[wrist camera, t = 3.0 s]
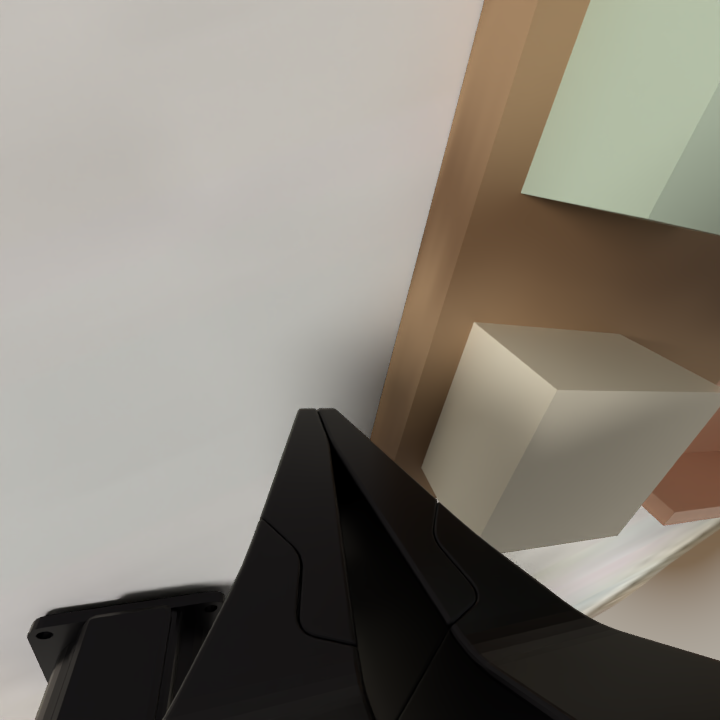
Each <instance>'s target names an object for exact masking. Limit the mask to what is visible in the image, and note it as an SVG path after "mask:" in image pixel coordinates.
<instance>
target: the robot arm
mask: <svg viewBox="0 0 720 720" xmlns="http://www.w3.org/2000/svg"><path fill="white" fill-rule="evenodd" d="M224 599H225V596H224V594H223V593H222V592H218V591H211V592H204V593H198V594H191V595H184V596H177V597H170V598H164V599H157V600H150V601H143V602H136V603H130V604H123V605H116V606H109V607H103V608H96V609H89V610H82V611H75V612H69V613H62V614H55V615H48V616H44V617H40V618H38V619H36V620H35V621H34V622H33V624H32V626H31V628H30V631H29V633H28V635H27V638H28V641H29V643H30V645H31V647H32V649H33V652H34V654H35V656H36V658H37V660H38V663H39V665H40V667H41V669H42V671H43V674H44V676H45V678H46V680H47V682H48V685H47V688H46V690H45V693H44V696H43V699H42V701H41V704H40V707H39V710H38V712H37V715H36V718H35V720H720V661H719V660H715V659H712V658H709V657H705V656H702V655H699V654H695V653H692V652H689V651H685V650H682V649H679V648H675V647H672V646H669V645H665V644H662V643H658V642H655V641H652V640H648V639H645V638H641V637H638V636H635V635H632V634H628V633H625V632H622V631H619V630H616V629H613V628H610V627H608V626H606V625H603V624H601V623H599V622H597V621H595V620H593V619H591V618H589V617H588V616H586V615H584V614H583V613H581V612H579V611H578V610H576V609H575V608H573V607H572V606H570V605H569V604H568V603H566V602H565V601H563V600H562V599H561V598H559V597H558V596H557V595H555V594H554V593H553V592H551V591H550V590H549V589H548V588H546V587H545V586H544V585H542V584H541V583H540V582H538V581H537V580H536V579H534V578H533V577H532V576H530V575H529V574H528V573H526V572H525V571H524V570H522V569H521V568H520V567H518V566H517V565H516V564H514V563H513V562H512V561H511V560H509V559H508V558H507V557H505V556H504V555H503V554H501V553H500V552H499V551H497V550H496V549H495V548H494V547H492V546H491V545H490V544H489V543H487V542H486V541H485V540H483V539H482V538H481V537H480V536H478V535H477V534H476V533H475V532H473V531H472V530H471V529H470V528H469V527H468V526H466V525H465V524H464V523H463V522H462V521H461V520H459V519H458V518H457V517H456V516H455V515H454V514H452V513H451V512H450V511H449V510H448V509H447V508H446V507H445V506H444V505H442V504H441V503H440V502H438V503H437V499H436V498H434V497H433V496H432V495H431V494H430V493H429V492H428V491H427V490H425V489H424V488H423V487H422V486H421V485H420V484H419V483H418V482H417V481H415V480H414V479H413V478H412V477H411V476H410V475H409V474H408V473H406V472H405V471H404V470H403V469H402V468H401V467H400V466H399V465H398V464H396V463H395V462H394V461H393V460H392V459H391V458H390V457H389V456H388V455H386V454H385V453H384V452H383V451H382V450H381V449H380V448H379V447H377V446H376V445H375V444H374V443H373V442H372V441H371V440H370V439H369V438H367V437H366V436H365V435H364V434H363V433H362V432H361V431H360V430H358V429H357V428H356V427H355V426H354V425H353V424H352V423H351V422H350V421H348V420H347V419H346V418H345V417H344V416H343V415H342V414H341V413H339V412H338V411H337V410H336V409H334V408H320V409H318V410H316V409H314V408H308V409H299V410H298V412H297V415H296V418H295V420H294V423H293V426H292V429H291V432H290V435H289V437H288V440H287V443H286V446H285V449H284V452H283V454H282V457H281V460H280V463H279V466H278V469H277V471H276V474H275V477H274V480H273V483H272V486H271V488H270V491H269V494H268V497H267V500H266V503H265V505H264V508H263V511H262V514H261V517H260V521H259V522H258V525H257V527H256V530H255V533H254V536H253V539H252V541H251V544H250V546H249V549H248V551H247V554H246V556H245V559H244V562H243V564H242V566H241V568H240V571H239V573H238V575H237V577H236V579H235V581H234V583H233V585H232V587H231V590H230V592H229V594H228V596H227V598H226V600H225V602H224Z"/></svg>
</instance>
